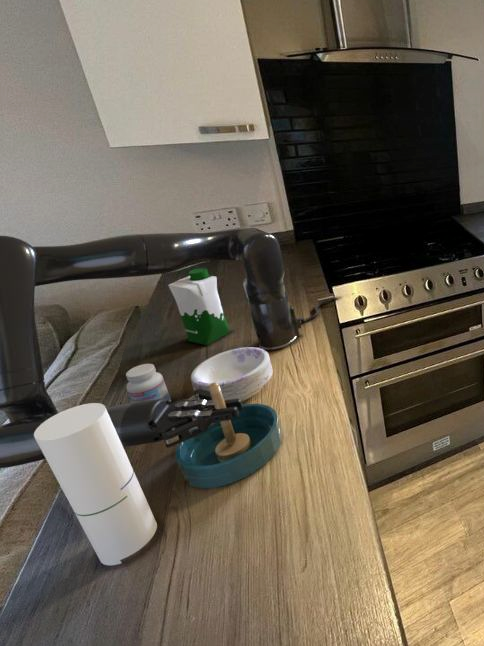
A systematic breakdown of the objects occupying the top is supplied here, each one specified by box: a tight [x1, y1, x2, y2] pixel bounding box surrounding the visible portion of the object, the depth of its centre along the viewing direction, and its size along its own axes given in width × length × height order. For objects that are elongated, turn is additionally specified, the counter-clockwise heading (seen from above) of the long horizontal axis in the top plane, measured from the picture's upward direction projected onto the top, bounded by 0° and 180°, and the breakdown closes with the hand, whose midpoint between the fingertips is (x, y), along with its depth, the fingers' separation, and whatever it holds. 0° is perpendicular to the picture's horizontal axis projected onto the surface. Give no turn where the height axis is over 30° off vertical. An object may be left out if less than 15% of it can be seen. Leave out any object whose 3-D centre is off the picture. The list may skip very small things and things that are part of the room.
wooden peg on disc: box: [209, 382, 251, 463], centre depth 83 cm, size 6×6×17 cm
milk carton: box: [167, 267, 231, 346], centre depth 122 cm, size 9×9×20 cm
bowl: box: [174, 403, 283, 489], centre depth 86 cm, size 16×16×6 cm
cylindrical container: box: [34, 402, 158, 566], centre depth 66 cm, size 7×7×25 cm
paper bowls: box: [190, 346, 274, 402], centre depth 102 cm, size 15×15×8 cm
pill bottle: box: [125, 363, 172, 403], centre depth 96 cm, size 6×6×11 cm
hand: (239, 408), depth 84 cm, fingers closed on wooden peg on disc
